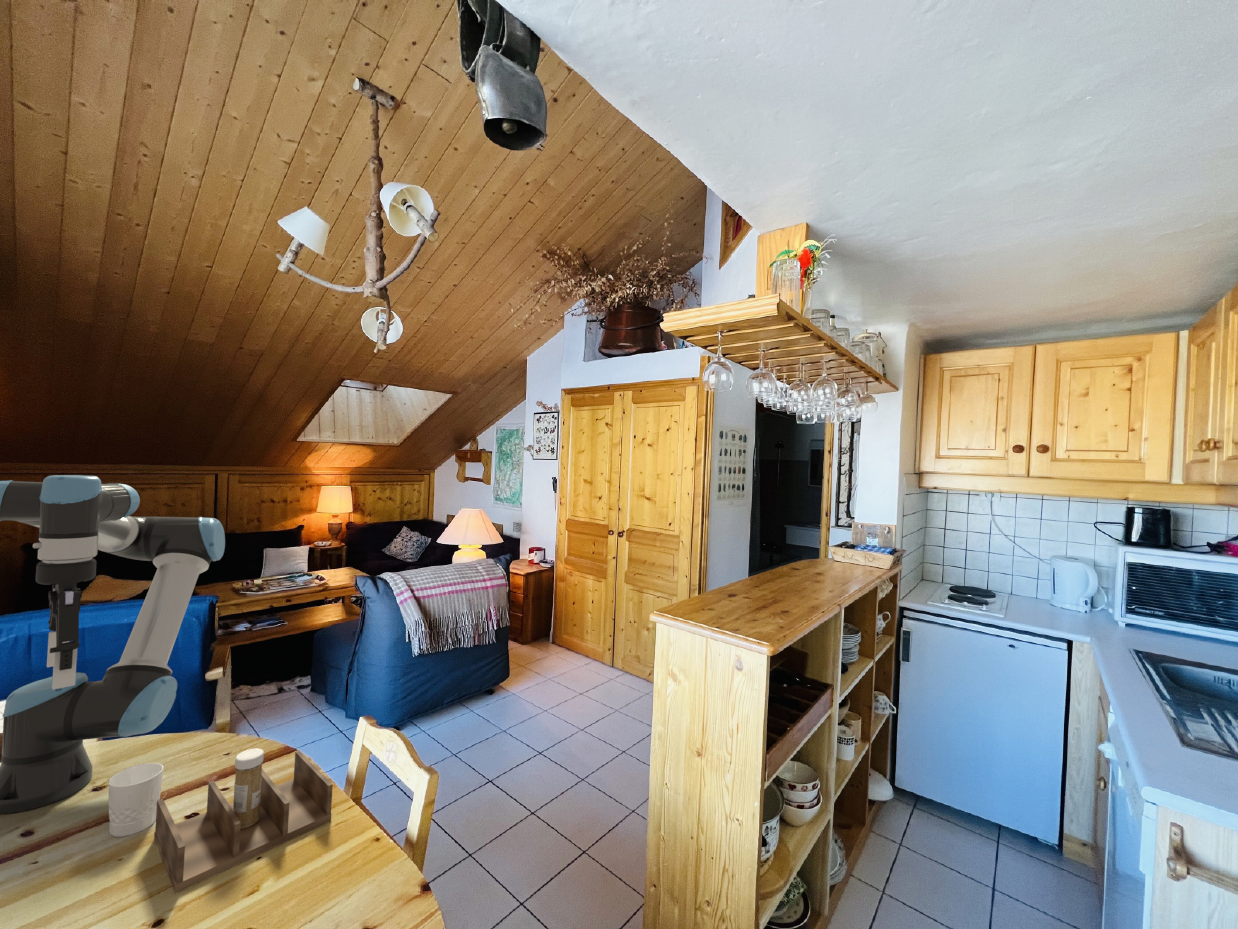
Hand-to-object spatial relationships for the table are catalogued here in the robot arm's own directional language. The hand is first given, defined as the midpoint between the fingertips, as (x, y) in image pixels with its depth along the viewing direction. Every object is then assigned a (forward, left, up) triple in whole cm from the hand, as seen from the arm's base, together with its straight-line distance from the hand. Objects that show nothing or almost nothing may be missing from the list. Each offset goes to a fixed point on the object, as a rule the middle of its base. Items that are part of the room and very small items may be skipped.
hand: (60, 675), depth 94 cm
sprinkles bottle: (+19, +25, -30) cm, 44 cm away
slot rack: (+19, +25, -32) cm, 45 cm away
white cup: (+2, +11, -32) cm, 34 cm away
